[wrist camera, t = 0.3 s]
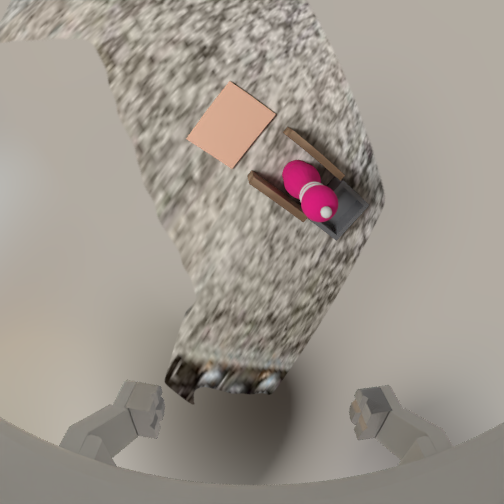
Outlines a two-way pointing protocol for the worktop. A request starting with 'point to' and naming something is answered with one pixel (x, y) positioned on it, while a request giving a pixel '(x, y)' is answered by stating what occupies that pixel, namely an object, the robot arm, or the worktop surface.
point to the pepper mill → (310, 191)
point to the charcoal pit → (343, 209)
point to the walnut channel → (280, 196)
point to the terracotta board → (230, 125)
